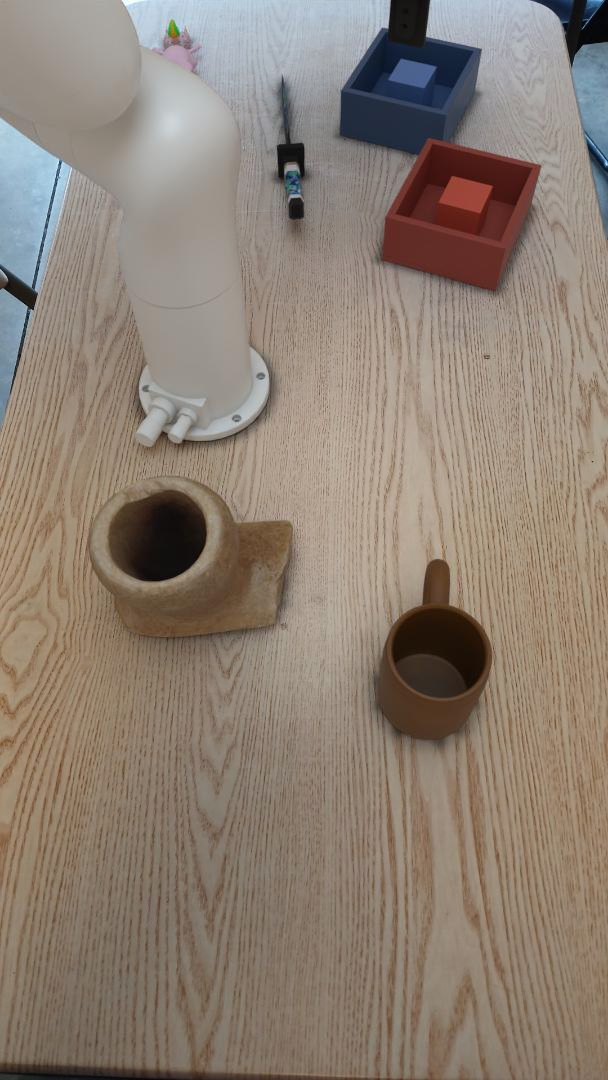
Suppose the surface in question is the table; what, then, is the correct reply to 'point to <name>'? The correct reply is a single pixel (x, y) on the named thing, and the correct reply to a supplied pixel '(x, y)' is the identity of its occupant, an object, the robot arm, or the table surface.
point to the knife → (291, 168)
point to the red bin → (448, 249)
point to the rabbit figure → (178, 47)
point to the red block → (464, 206)
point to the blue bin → (399, 120)
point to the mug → (433, 663)
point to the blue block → (412, 82)
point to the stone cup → (187, 560)
